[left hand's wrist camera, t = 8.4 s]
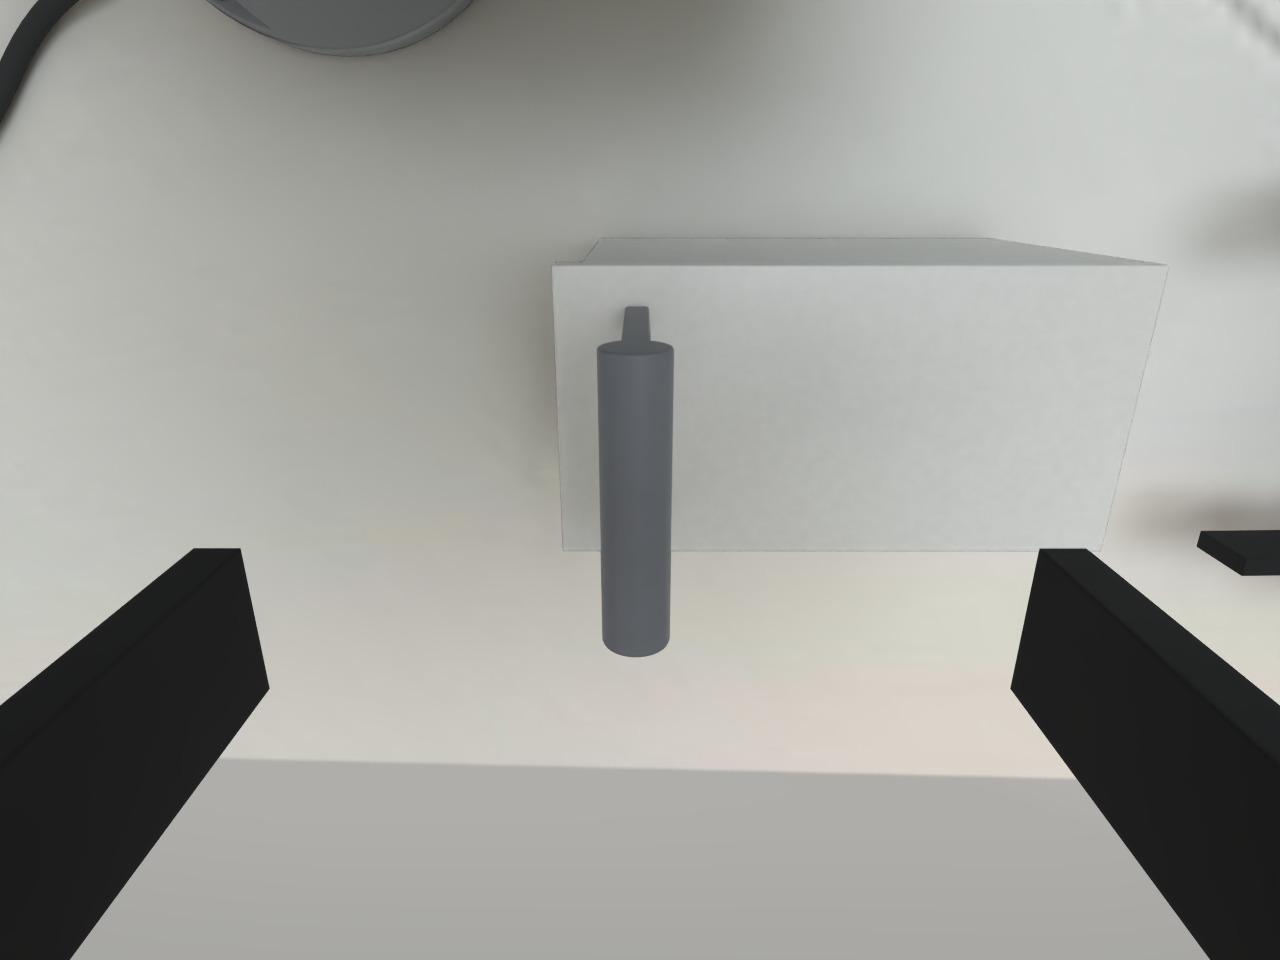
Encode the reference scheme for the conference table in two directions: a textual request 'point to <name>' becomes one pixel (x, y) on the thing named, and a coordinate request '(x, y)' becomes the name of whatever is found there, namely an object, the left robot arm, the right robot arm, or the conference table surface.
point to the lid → (838, 411)
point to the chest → (832, 250)
